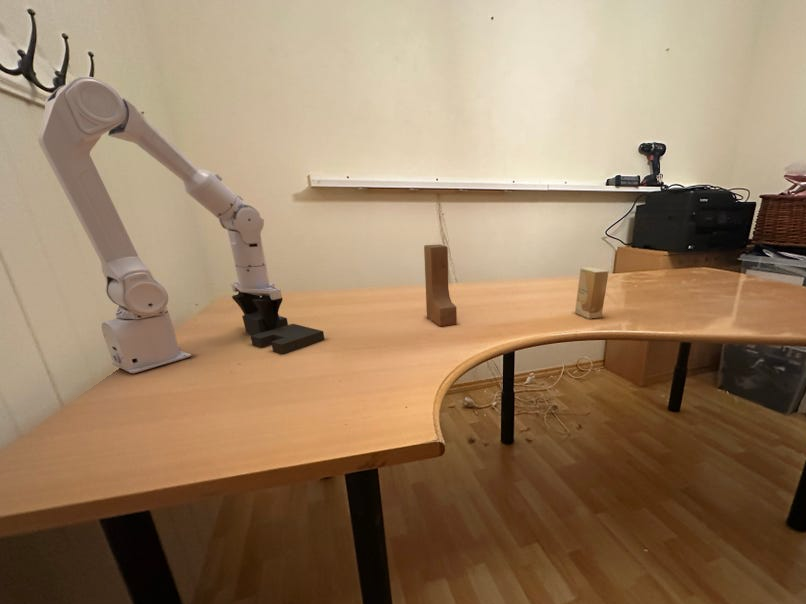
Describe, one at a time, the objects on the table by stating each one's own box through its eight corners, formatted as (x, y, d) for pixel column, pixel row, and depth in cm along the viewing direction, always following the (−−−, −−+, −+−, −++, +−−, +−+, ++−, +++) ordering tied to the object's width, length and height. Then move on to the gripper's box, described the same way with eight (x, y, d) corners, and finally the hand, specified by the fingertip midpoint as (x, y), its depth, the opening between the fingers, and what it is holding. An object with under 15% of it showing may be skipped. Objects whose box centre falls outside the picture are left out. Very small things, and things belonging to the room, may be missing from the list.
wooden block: (457, 324, 98) (456, 248, 91) (440, 326, 96) (438, 249, 89) (442, 315, 105) (440, 244, 98) (426, 317, 103) (423, 245, 96)
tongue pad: (261, 337, 87) (257, 320, 85) (246, 332, 89) (241, 315, 88) (292, 327, 93) (289, 310, 91) (277, 322, 95) (274, 306, 94)
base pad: (283, 354, 78) (281, 344, 78) (252, 344, 83) (250, 335, 82) (324, 339, 86) (323, 330, 86) (294, 331, 91) (293, 323, 90)
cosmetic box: (574, 313, 108) (579, 267, 104) (587, 311, 110) (592, 266, 106) (589, 319, 103) (595, 271, 98) (602, 317, 105) (609, 270, 100)
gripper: (289, 265, 84) (300, 327, 89) (248, 259, 91) (260, 317, 96) (258, 270, 79) (270, 336, 84) (216, 263, 85) (230, 325, 90)
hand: (263, 326), depth 89 cm, fingers closed on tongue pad, 5 cm apart
